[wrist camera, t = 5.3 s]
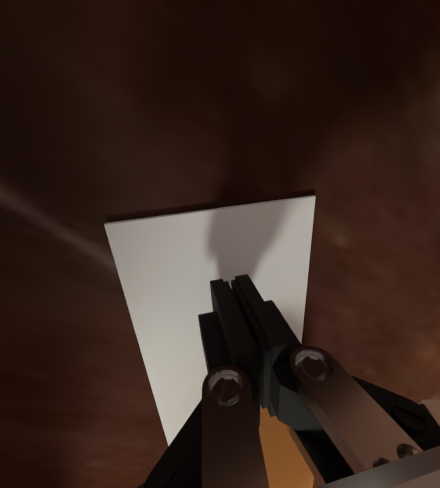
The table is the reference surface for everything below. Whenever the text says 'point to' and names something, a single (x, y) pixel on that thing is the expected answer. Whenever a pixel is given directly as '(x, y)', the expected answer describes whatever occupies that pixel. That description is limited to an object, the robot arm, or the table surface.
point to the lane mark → (205, 283)
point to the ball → (282, 455)
